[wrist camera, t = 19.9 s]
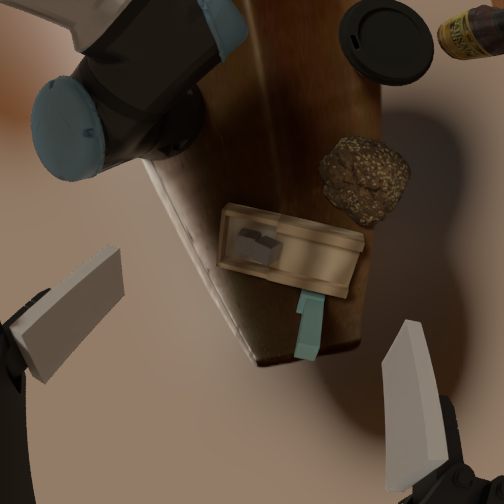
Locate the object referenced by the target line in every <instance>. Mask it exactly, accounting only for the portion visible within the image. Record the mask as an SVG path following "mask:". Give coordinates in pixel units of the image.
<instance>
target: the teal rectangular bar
mask: <svg viewBox="0 0 504 504" xmlns="http://www.w3.org/2000/svg"><path fill="white" fill-rule="evenodd" d="M324 300H325V294H323V293H319V292H315V291H310V290H306V289H302V291H301V295H300V299H299V302H298V306H297V311H296V312H297V313H301V314H302V317H301V322H300V328H299V333H298V339H297V344H296V349H295V354H294V357H297V358H302V359H306V360H311V361H314V360H315V358H316V355H317V353H318V350H319V348H320V339H321V329H322V318H323V307H324Z"/></svg>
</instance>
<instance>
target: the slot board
mask: <svg viewBox="0 0 504 504" xmlns="http://www.w3.org/2000/svg"><path fill="white" fill-rule="evenodd" d="M242 228H246V229H250V230H255V231H259V232H261V233H260V238H262V237H264V236H268V237H270V238H272V239H275V240H277V241H279V242H281V243H282V245H281V250H280V255H279V260H277V261H276V262H274V263H273V264H271V265H269V266H268V267H267V266H265V265H263V264H261V263H259V262H257V261H255V260H253V259H251V258H252V257H251V256H247V255H243V254H239V253H235V249H236V241H237V235H238V233H239V232H240V230H241V229H242ZM364 245H365V240H364V236H363V233H359V232H355V231H351V230H347V229H343V228H339V227H335V226H331V225H327V224H322V223H318V222H314V221H310V220H306V219H301V218H297V217H293V216H288V215H284V214H279V213H275V212H270V211H266V210H261V209H257V208H252V207H248V206H243V205H238V204H233V203H229V202H228V203H227V204H226V205H225V206H224V207H223V208H222V213H221V222H220V232H219V242H218V252H217V263H216V266H218V267H222V268H225V269H229V270H233V271H237V272H241V273H245V274H249V275H253V276H257V277H261V278H265V279H267V280H269V281H273V282H277V283H281V284H285V285H290V286H294V287H298V288H302V289H306V290H310V291H315V292H319V293H323V294H327V295H332V296H336V297H340V298H344V299H346V297H347V294H348V292H349V289H348V286H349V283H350V280H351V277H352V274H353V271H354V268H355V266H356V263H357V260H358V257H359V254H360V252H362V251H363V248H364Z"/></svg>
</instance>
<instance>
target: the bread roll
mask: <svg viewBox="0 0 504 504" xmlns="http://www.w3.org/2000/svg"><path fill="white" fill-rule="evenodd" d="M319 172H320V176H321V178H322V179H323V181H324V183H325V184H326V185H325V186H324V189H323V193H324V195H325V196H326V197H327V198H328V199H329V200H330V202H332V203H333V205H334V206H336V207H338V208H341V209H343V210H344V211H345V212H347V213H348V215H349V216H350V217H351V218H352V219H353V220H354V221H355V222H357V223H358V224H360V225H373V224H377V222H380V221H383V220H385V219H386V217H387V216H388V214H389V213H391V212H392V211H393V210H394V208H395V206H396V205H397V203H398V202H399V200H400V198H401V197H402V194H403V192H404V189H405V187H406V186H407V183H408V182H409V179H410V175H411V171H410V168H409V165H408V163H407V162H406V161H405V160H404V159H403V157H402V156H401V155H400V154H399V153H397V152H396V151H395V150H393V149H391V148H390V147H387V146H386V145H385V144H384V143H383V142H376V141H374V140H371V139H367V138H363V137H360V136H351V137H345V138H342V139H341V140H340V141H339V143H337V144H336V147H335V148H334V149H333V150H332V151H331V152H330V154H328V155H326V156H324V158H323V159H322V160H321V161H320V166H319Z"/></svg>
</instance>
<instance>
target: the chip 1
mask: <svg viewBox="0 0 504 504" xmlns="http://www.w3.org/2000/svg"><path fill="white" fill-rule="evenodd" d="M260 233H261V232H259V231H255V230H250V229H246V228H242V229H241V230H240V232H239V233H238V235H237V241H236V249H235V253H239V254H243V255H247V256H251V257H252V252H253V245H254V241H255V240H257V239H259V238H260Z"/></svg>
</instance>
